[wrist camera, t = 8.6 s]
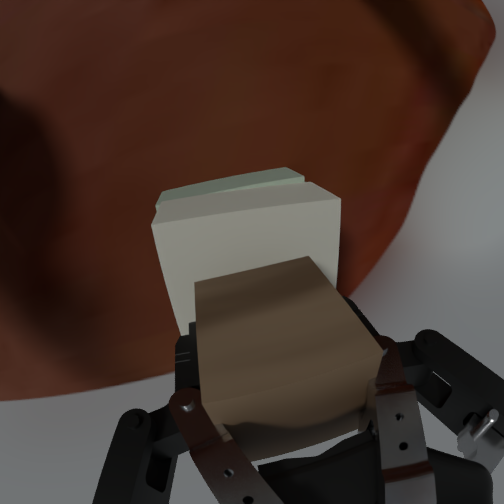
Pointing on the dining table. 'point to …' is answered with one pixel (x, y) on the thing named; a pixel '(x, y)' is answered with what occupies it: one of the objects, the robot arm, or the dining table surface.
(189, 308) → the tower top
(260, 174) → the tower base
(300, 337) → the walnut block
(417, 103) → the dining table surface
